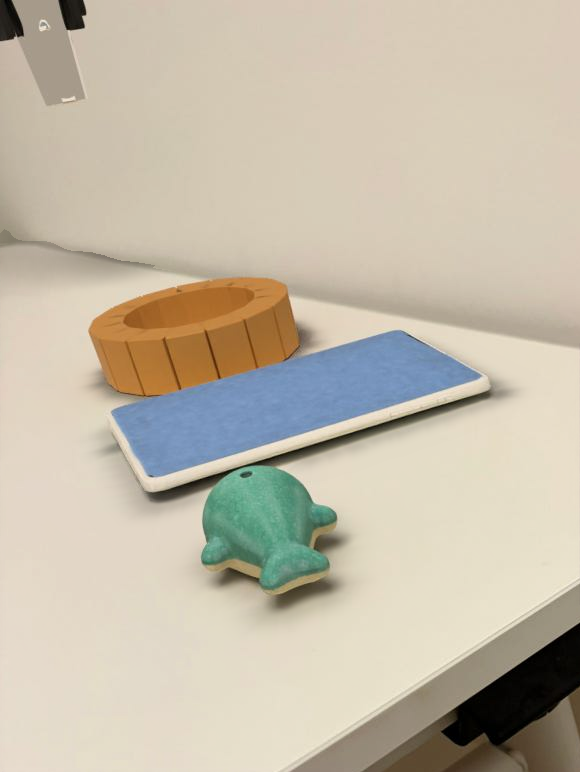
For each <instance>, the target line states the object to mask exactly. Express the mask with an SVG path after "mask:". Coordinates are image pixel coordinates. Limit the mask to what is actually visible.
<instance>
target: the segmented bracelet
mask: <svg viewBox="0 0 580 772" xmlns="http://www.w3.org/2000/svg"><path fill="white" fill-rule="evenodd" d="M288 291H289V290H288V287H287V284H286V283H284V282H281V281H279V280H276V279H274V278H268V277H254V276H253V277H251V276H245V277H243V276H239V277H226V278H216V279H211V280H210V279H208V280H202V281H197V282H190V283H186V284H185V283H184V284H180V285H177V286H173V287H168V288H165V289H160V290H157V291H154V292H149V293H147V294H143V295H142V296H140V295H139V296H136V297H135V298H132V299H130V300H127V301H124V302H122V303H119V304H117V305H114V306H113V307H111V308H109V309H107V310H106V311H104V312H103V313H101V314H100V315H98V316H96V317H95V318H94V319H93V320H92V322H91V323H90V326H89V327H88V330H87V332H88V334H89V338H90V340H91V342H92V345H93V347H94V350H95V353H96V356H97V358H98V361H99V364H100V366H101V369H102V371H103V374H104V377H105V380H106V382H107V384H109V385H110V386H111V387H112V388H113V389H114V390H116V391H117V392H120V393H125V394H129V395H135V396H149V397H150V396H151V397H152V396H161V395H165V394H168V393H172V392H175V391H179V390H182V389H186V388H189V387H193V386H197V385H201V384H204V383H208V382H212V381H215V380H219V379H223V378H226V377H230V376H233V375H237V374H240V373H244V372H248V371H251V370H255V369H258V368H262V367H265V366H269V365H273V364H276V363H280V362H284V361H286V360H288V358H289V357H290V356H291V355H292V354H293V353H294V352H295V351H296V350H297V349H298V348H299V347H300V346H301V345H300V337H299V332H298V329H297V325H296V321H295V320H296V319H295V317H294V312H293V308H292V304H291V299H290V296H289V292H288Z"/></svg>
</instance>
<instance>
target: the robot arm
mask: <svg viewBox="0 0 580 772" xmlns="http://www.w3.org/2000/svg"><path fill="white" fill-rule="evenodd" d="M63 5H64V9H65V13H66V17H67V21H68V25H69V29H70V32H72V31H76V30H83V29H86V24H85V21H84V17H86V16H87V13H88V12H87V8H86V4H85V1H84V0H63ZM15 38H17V36H16V34H15V31H14V28H13V25H12V22H11V19H10V17H9V14H8V11H7V8H6V5H5V3H4V0H0V42H5V41H12V40H15Z"/></svg>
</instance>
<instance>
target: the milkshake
mask: <svg viewBox="0 0 580 772" xmlns="http://www.w3.org/2000/svg"><path fill="white" fill-rule="evenodd" d="M4 3H5V5H6V8H7V11H8V14H9V17H10V19H11V22H12V25H13V28H14V31H15V34H16V39H17V41H18V43H19V46H20V48H21V50H22V52H23V55H24V58H25V59H26V62H27V64H28V67H29V69H30V71H31V74H32V76H33V78H34V80H35V83H36V85H37V88H38V89H39V92H40V95H41V97H42V99H43V101H44V104H45V106H46V107H55V106H56V107H57V106H61V105H62V106H63V105H68V104H73V103H78V102H82V101H86V100H88V99H89V96H88V93H87V87H86V84H85V81H84V77H83V73H82V70H81V65H80V62H79V59H78V54H77V51H76V48H75V44H74V39H73V36H72V33H71V32H72V31H70V29H69V25H68V21H67V17H66V13H65V9H64V5H63V0H4Z"/></svg>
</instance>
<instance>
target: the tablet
mask: <svg viewBox="0 0 580 772" xmlns="http://www.w3.org/2000/svg"><path fill="white" fill-rule="evenodd" d="M491 388H492V385H491V382H490V378H489V376H488V375H486V374H485V373H483V372H480V371H479V370H477V369H475V368H473V367H471V366H470V365H468V364H466V363H464V362H463V361H461V360H459V359H457V358H456V357H454V356H453V355H450V354H448V353H447V352H445V351H443V350H441V349H440V348H437V347H436V346H434V345H432V344H430V343H428V342H427V341H425V340H423V339H421V337H418V336H416V335H415V334H412V333H411V332H409V331H406V330H402V329H394V330H389V331H386V332H381V333H378V334H375V335H372V336H368V337H365V338H361V339H359V340H354V341H350V342H347V343H344V344H340V345H336V346H333V347H330V348H326V349H322V350H319V351H316V352H311V353H308V354H305V355H301V356H298V357H294V358H291V359H286V360H284V361H282V362H280V363H276V364H273V365H269V366H265V367H262V368H258V369H255V370H251V371H248V372H244V373H240V374H237V375H233V376H230V377H226V378H223V379H219V380H215V381H212V382H208V383H204V384H201V385H197V386H193V387H189V388H186V389H182V390H179V391H175V392H172V393H168V394H165V395H156V396H154V397H151V398H146V399H142V400H139V401H135V402H132V403H127V404H124V405H121V406H118V407H115V408H113V409H112V410H110V411H109V412H107V414H106V422H107V425H108V427H109V429H110V431H111V433H112V434H113V436H114V438H115V440H116V442H117V443H118V446H119V447H120V449H121V451H122V453H123V455H124V458H125V459H126V461H127V462H128V464H129V466H130V467H131V469H132V471H133V473H134V474H135V476H136V478H137V479H138V482H139V483H140V485H141V488H143V490H144V491H145V492H147V493H156V492H161V491H167V490H169V489H172V488H176V487H179V486H182V485H185V484H188V483H190V482H194V481H198V480H200V479H204V478H207V477H210V476H213V475H214V476H215V475H217V474H220V473H224V472H227V471H230V470H233V469H236V468H241V467H245V466H248V465H249V464H254V463H257V462H259V461H260V462H261V461H263V460H266V459H270V458H272V457H276V456H279V455H282V454H286V453H289V452H292V451H295V450H299V449H302V448H306V447H310V446H313V445H315V444H320V443H322V442H325V441H329V440H331V439H332V440H333V439H335V438H338V437H341V436H345V435H348V434H351V433H354V432H357V431H361V430H364V429H367V428H371V427H374V426H377V425H381V424H383V423H387V422H390V421H393V420H396V419H399V418H402V417H406V416H410V415H413V414H415V413H419V412H422V411H425V410H429V409H432V408H435V407H438V406H441V405H445V404H448V403H453V402H456V401H458V400H462V399H466V398H469V397H472V396H475V395H479V394H481V393H482V394H483V393H485V392H487V391H489V390H491Z"/></svg>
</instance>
